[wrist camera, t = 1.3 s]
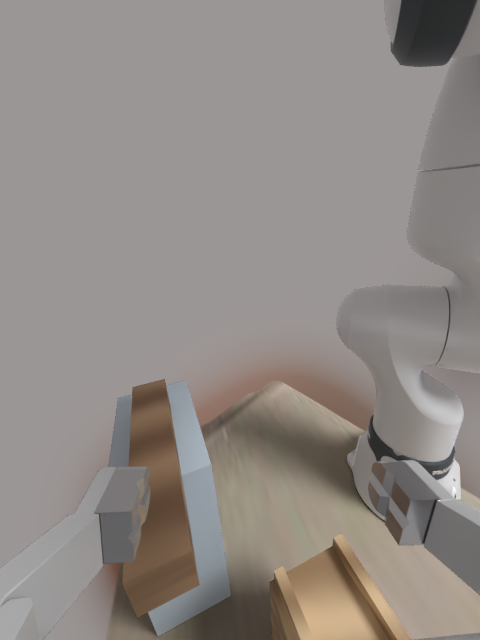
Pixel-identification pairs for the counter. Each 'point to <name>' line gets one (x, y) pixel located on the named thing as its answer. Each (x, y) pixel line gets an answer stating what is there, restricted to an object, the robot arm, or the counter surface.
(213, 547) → the stand
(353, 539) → the counter surface
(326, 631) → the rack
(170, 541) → the walnut bar
